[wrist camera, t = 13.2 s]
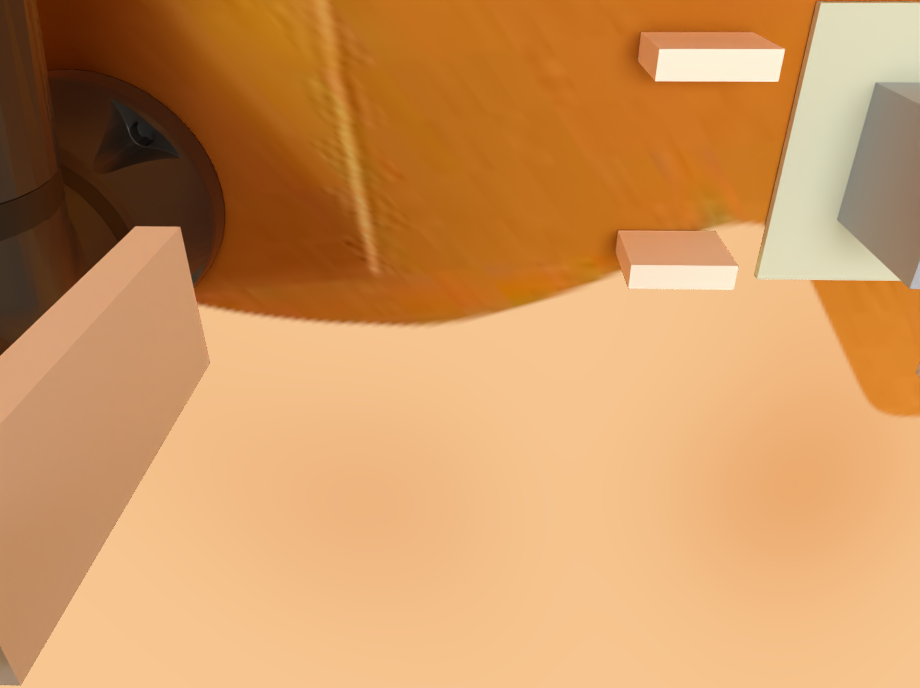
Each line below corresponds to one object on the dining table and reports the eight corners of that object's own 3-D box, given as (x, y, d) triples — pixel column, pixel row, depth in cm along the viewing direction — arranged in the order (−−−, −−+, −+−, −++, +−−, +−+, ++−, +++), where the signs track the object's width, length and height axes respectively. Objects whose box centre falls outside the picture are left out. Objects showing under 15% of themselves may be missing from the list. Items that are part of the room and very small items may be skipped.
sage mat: (754, 275, 47) (757, 279, 47) (816, 1, 39) (821, 3, 38) (944, 277, 47) (950, 281, 46) (1049, 1, 38) (1057, 2, 38)
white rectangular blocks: (615, 252, 47) (628, 288, 42) (640, 31, 40) (659, 49, 36) (710, 253, 46) (733, 289, 42) (753, 32, 40) (785, 49, 35)
